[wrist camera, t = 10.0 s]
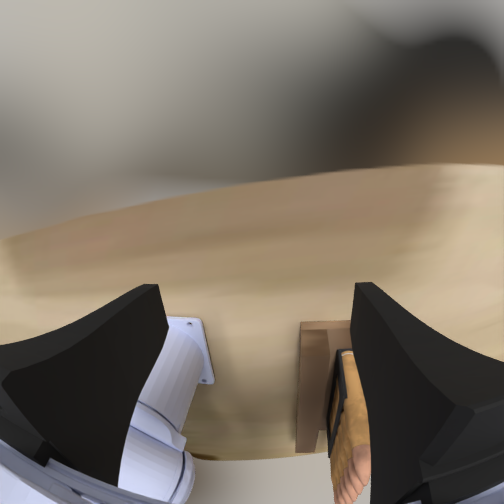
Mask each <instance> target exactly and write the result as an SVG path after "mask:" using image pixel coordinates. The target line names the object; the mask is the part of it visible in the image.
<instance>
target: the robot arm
mask: <svg viewBox="0 0 504 504" xmlns="http://www.w3.org/2000/svg"><path fill="white" fill-rule="evenodd" d="M189 322H190V323H192V324H189ZM350 336H351V343H352V350H353V355H354V359H355V363H356V367H357V370H358V374H359V378H360V382H361V386H362V390H363V394H364V398H365V402H366V408H367V414H368V424H369V435H370V452H371V495H370V504H504V362H502V361H499V360H496V359H493V358H490V357H488V356H485V355H482V354H480V353H477V352H475V351H473V350H471V349H468V348H466V347H464V346H462V345H460V344H458V343H456V342H454V341H452V340H450V339H449V338H447V337H445V336H444V335H442V334H440V333H439V332H437V331H435V330H434V329H432V328H431V327H429V326H427V325H426V324H425V323H423V322H422V321H420V320H419V319H418V318H416V317H415V316H413V315H412V314H411V313H410V312H408V311H407V310H406V309H404V308H403V307H402V306H401V305H399V304H398V303H397V302H396V301H395V300H393V299H392V298H391V297H390V296H389V295H387V294H386V293H385V292H384V291H383V290H381V289H380V288H379V287H378V286H376V285H375V284H374V283H372V282H362V283H355V290H354V299H353V308H352V316H351V323H350ZM214 382H215V377H214V373H213V369H212V365H211V360H210V356H209V351H208V347H207V342H206V337H205V333H204V328H203V323H202V321H201V320H200V319H199V318H190V317H170V316H166V314H165V310H164V306H163V302H162V298H161V294H160V290H159V286H158V284H143V285H141V286H138V287H136V288H134V289H132V290H131V291H129V292H127V293H125V294H123V295H122V296H120V297H118V298H117V299H115V300H113V301H111V302H110V303H108V304H106V305H105V306H103V307H101V308H99V309H97V310H96V311H94V312H92V313H90V314H88V315H86V316H85V317H83V318H81V319H79V320H77V321H75V322H73V323H71V324H68V325H66V326H64V327H62V328H59V329H57V330H54V331H51V332H49V333H46V334H43V335H40V336H37V337H34V338H31V339H27V340H23V341H19V342H15V343H10V344H4V345H0V504H185V502H186V500H187V499H188V497H189V495H190V492H191V490H192V487H193V483H194V479H195V465H194V463H193V458H192V455H191V454H190V453H189V452H187V451H185V450H184V447H185V444H186V441H187V438H186V437H184V436H182V435H181V432H182V429H183V426H184V423H185V420H186V417H187V414H188V411H189V408H190V405H191V402H192V399H193V396H194V393H195V390H196V387H197V384H198V383H201V384H213V383H214Z"/></svg>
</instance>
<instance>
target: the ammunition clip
mask: <svg viewBox="0 0 504 504" xmlns="http://www.w3.org/2000/svg"><path fill="white" fill-rule="evenodd" d="M326 424H327V440H328V457H329V458H330V463H331V479H332V483H333V490H334V501H335V504H353V502H354V501H356V499H357V497H358V495H359V494H361V492H362V490H363V487H364V486H366V485H367V484H368V481H369V478H370V474H371V452H370V435H369V424H368V414H367V408H366V402H365V398H364V394H363V390H362V386H361V382H360V378H359V374H358V370H357V367H356V363H355V359H354V355H353V350H352V348H349V349H338V350H337V351H336V359H335V366H334V374H333V381H332V387H331V394H330V400H329V406H328V412H327V417H326Z"/></svg>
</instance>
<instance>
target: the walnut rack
mask: <svg viewBox="0 0 504 504" xmlns="http://www.w3.org/2000/svg"><path fill="white" fill-rule="evenodd" d="M350 323H351V320H348V321H322V322H301V335H300V365H299V387H298V405H297V421H296V450H295V453H311V452H315V447H316V442H317V437H318V432H319V430H327V424H326V417H327V412H328V406H329V400H330V394H331V387H332V381H333V374H334V366H335V359H336V351H337V350H338V349H349V348H352V343H351V336H350Z"/></svg>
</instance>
